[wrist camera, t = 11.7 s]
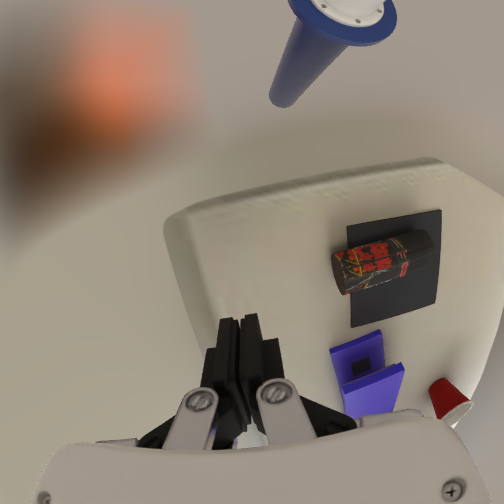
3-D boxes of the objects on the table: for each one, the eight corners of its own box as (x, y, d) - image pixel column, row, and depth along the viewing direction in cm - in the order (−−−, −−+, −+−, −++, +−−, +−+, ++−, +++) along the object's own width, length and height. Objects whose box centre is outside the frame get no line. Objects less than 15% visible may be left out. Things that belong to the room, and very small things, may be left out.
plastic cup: (412, 401, 54) (430, 433, 42) (436, 370, 50) (459, 402, 39) (436, 400, 55) (453, 428, 44) (458, 371, 52) (480, 399, 40)
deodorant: (328, 250, 40) (413, 226, 39) (335, 287, 41) (417, 261, 40) (340, 259, 34) (433, 231, 33) (347, 301, 35) (436, 270, 34)
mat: (346, 226, 38) (347, 226, 38) (440, 209, 38) (441, 210, 37) (351, 326, 44) (351, 328, 44) (434, 302, 44) (435, 303, 43)
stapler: (382, 328, 45) (404, 361, 36) (387, 407, 54) (401, 436, 44) (324, 351, 46) (337, 390, 37) (344, 424, 55) (354, 455, 46)
